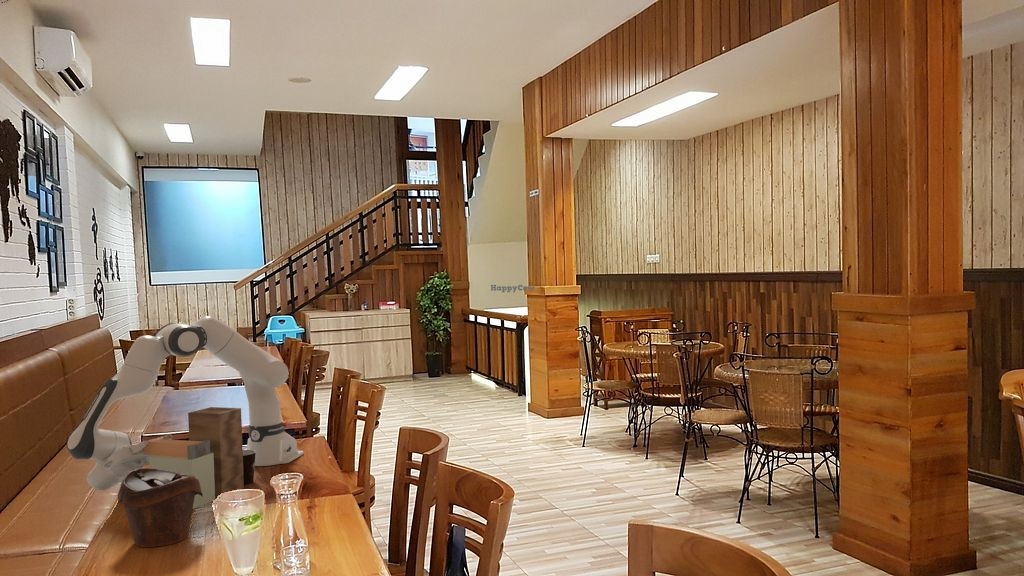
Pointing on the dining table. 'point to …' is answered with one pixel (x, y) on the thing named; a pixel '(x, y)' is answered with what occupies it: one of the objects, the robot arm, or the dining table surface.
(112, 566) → the dining table surface
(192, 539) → the dining table surface
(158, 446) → the orange brown flat block
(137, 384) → the robot arm
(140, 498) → the brown round container
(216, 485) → the stand
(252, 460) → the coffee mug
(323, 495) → the dining table surface
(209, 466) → the grey green block
